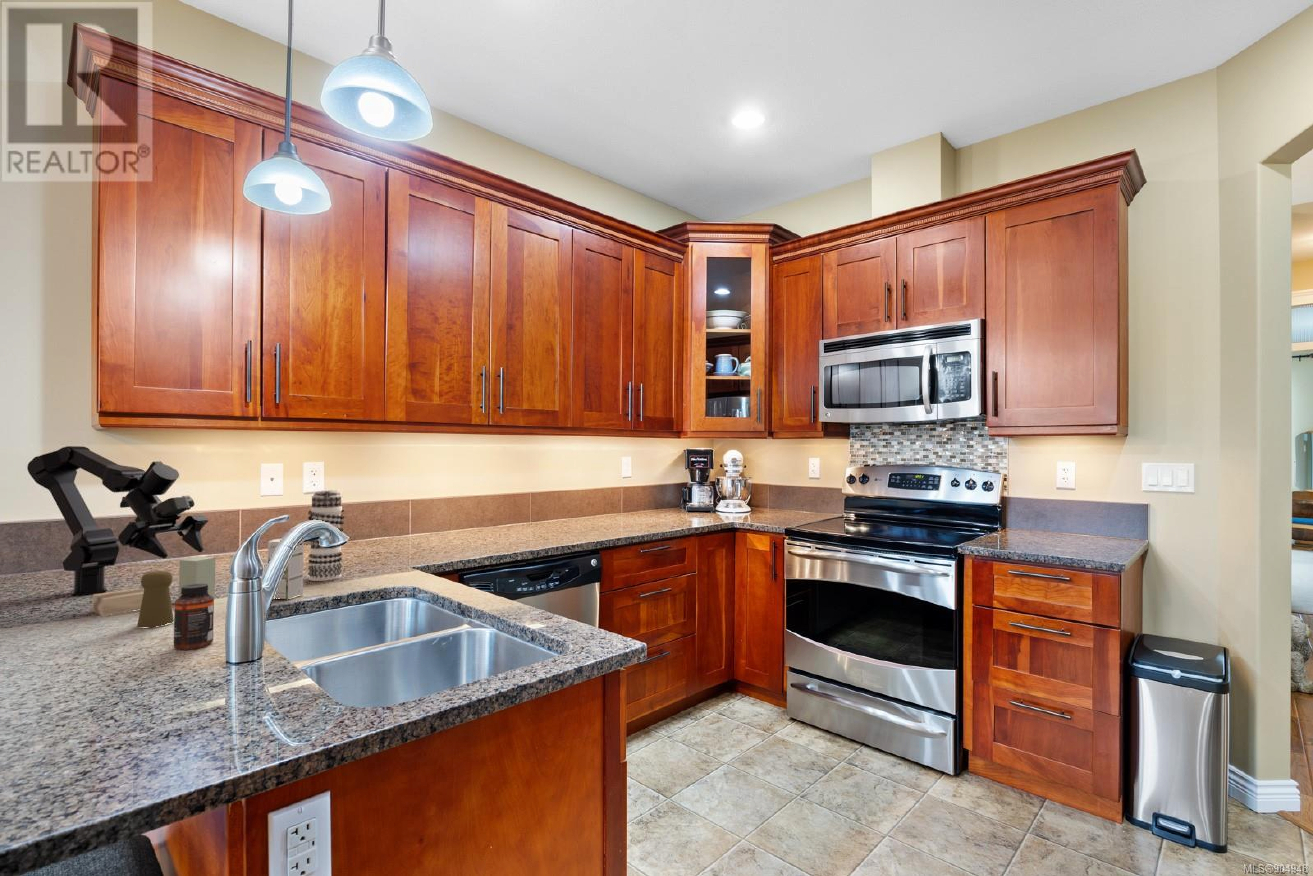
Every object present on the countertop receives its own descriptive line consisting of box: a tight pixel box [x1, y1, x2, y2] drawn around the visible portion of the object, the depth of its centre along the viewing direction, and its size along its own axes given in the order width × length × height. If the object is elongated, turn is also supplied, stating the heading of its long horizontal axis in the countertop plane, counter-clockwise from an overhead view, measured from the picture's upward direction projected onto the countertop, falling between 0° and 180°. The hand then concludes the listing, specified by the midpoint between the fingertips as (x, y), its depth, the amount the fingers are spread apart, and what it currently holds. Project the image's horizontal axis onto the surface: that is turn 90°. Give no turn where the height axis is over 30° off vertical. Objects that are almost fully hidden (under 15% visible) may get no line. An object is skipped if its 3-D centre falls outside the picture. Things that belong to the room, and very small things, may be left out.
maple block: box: [92, 588, 144, 617], centre depth 140 cm, size 8×8×4 cm
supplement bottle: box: [173, 584, 215, 651], centre depth 115 cm, size 6×6×11 cm
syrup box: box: [267, 537, 304, 601], centre depth 153 cm, size 6×6×14 cm
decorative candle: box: [307, 490, 345, 582], centre depth 177 cm, size 9×9×25 cm
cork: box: [136, 570, 174, 628], centre depth 129 cm, size 6×6×11 cm
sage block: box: [178, 556, 216, 599], centre depth 150 cm, size 5×5×10 cm
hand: (184, 554), depth 151 cm, fingers open, 9 cm apart
